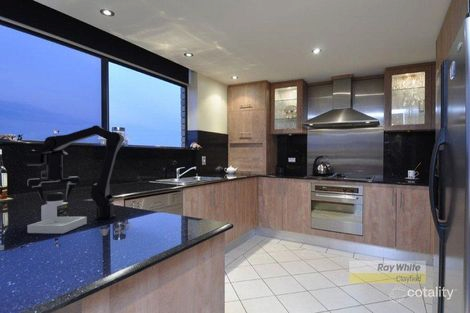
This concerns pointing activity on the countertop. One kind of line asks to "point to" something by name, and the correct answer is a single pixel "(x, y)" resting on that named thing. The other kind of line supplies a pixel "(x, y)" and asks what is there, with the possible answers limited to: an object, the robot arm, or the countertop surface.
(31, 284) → the countertop surface
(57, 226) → the grey square tray
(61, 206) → the medicine bottle
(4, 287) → the countertop surface
